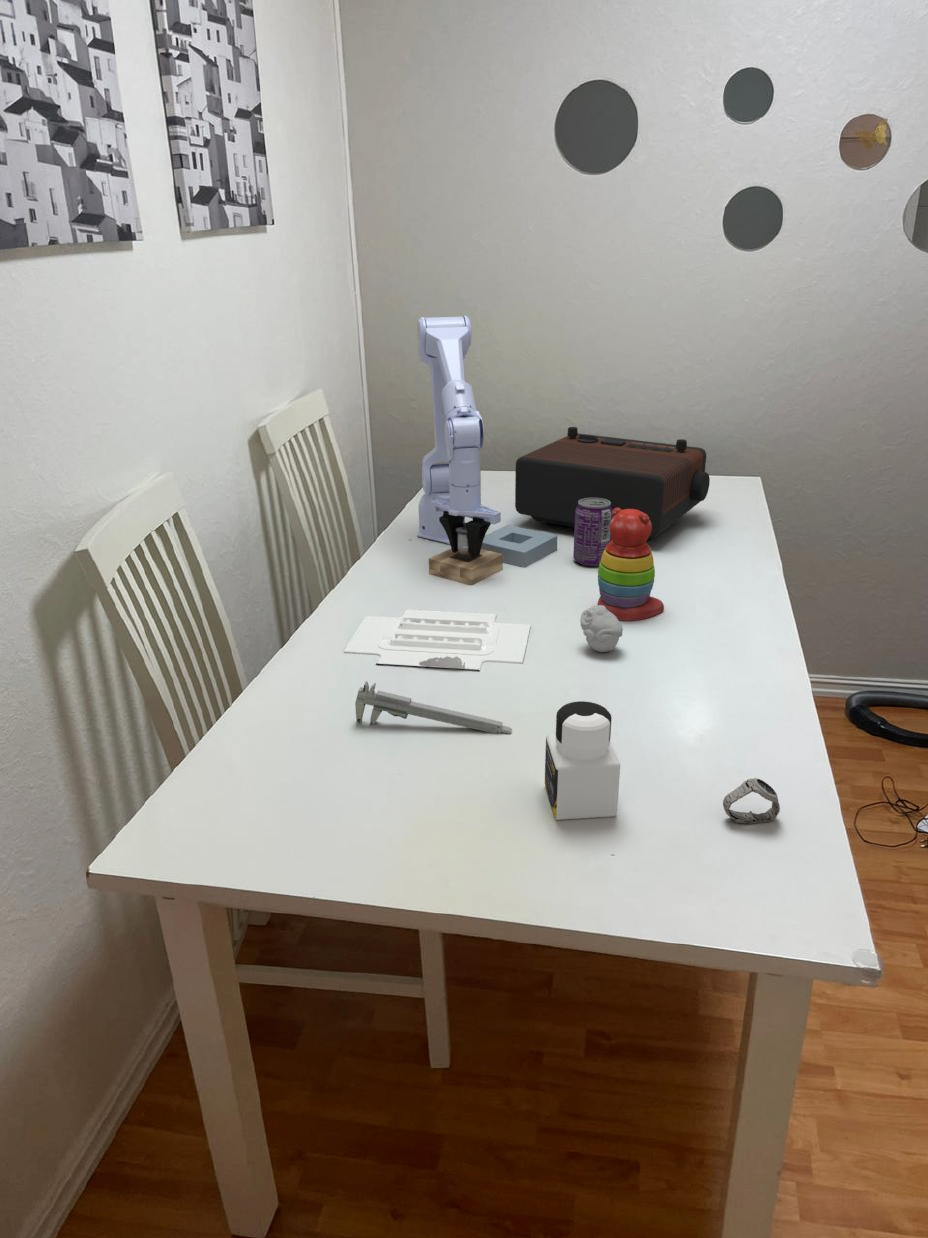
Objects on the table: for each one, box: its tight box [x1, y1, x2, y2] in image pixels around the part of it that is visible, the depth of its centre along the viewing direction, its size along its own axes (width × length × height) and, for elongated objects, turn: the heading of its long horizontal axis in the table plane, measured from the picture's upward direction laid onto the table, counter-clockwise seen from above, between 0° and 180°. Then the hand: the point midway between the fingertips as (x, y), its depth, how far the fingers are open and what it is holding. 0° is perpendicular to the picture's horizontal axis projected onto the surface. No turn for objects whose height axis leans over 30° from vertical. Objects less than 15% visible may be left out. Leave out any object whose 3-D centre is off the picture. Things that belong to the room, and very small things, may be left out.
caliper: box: [354, 680, 513, 735], centre depth 117 cm, size 21×1×6 cm, turn 82°
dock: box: [481, 524, 558, 568], centre depth 179 cm, size 12×12×3 cm
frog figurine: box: [579, 604, 624, 653], centre depth 137 cm, size 6×7×7 cm
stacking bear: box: [596, 508, 665, 621], centre depth 149 cm, size 11×10×18 cm
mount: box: [428, 548, 504, 586], centre depth 169 cm, size 10×10×3 cm
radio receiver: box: [514, 426, 711, 541], centre depth 192 cm, size 35×27×18 cm
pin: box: [455, 522, 474, 562], centre depth 168 cm, size 4×4×8 cm
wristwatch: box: [722, 777, 781, 826], centre depth 99 cm, size 4×6×5 cm, turn 95°
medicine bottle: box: [544, 700, 621, 821], centre depth 101 cm, size 7×7×12 cm
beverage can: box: [572, 498, 613, 567], centre depth 171 cm, size 7×7×12 cm
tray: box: [343, 609, 532, 671], centre depth 143 cm, size 20×28×4 cm
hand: (465, 553), depth 169 cm, fingers closed on pin, 4 cm apart
